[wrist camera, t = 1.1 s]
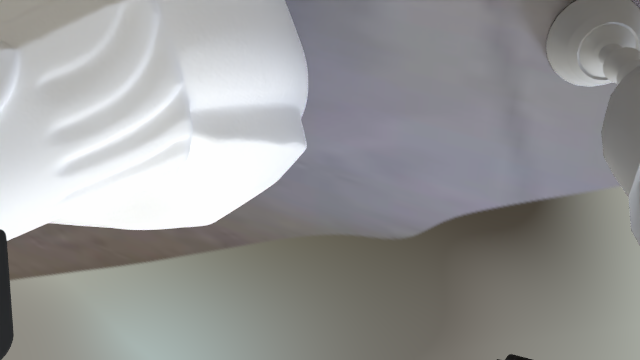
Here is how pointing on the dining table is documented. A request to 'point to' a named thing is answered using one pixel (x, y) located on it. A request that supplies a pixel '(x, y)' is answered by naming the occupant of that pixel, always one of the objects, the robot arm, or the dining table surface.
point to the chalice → (606, 79)
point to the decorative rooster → (145, 110)
